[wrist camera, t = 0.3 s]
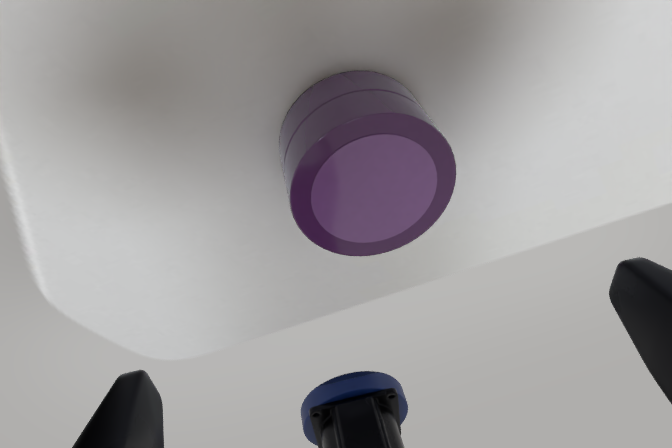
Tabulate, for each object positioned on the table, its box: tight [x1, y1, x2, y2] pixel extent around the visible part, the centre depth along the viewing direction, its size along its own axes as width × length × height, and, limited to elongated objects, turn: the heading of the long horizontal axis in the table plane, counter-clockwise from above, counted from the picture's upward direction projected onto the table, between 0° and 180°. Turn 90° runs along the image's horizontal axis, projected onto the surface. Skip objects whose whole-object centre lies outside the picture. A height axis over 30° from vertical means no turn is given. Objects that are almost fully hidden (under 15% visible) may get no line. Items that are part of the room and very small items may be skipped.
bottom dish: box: [279, 71, 427, 178], centre depth 22 cm, size 7×7×2 cm
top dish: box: [284, 91, 456, 256], centre depth 20 cm, size 7×7×2 cm
